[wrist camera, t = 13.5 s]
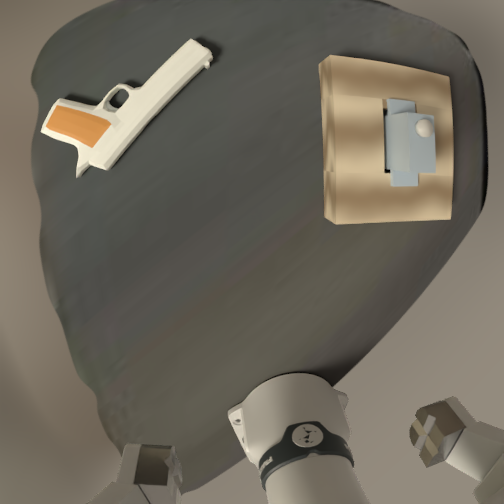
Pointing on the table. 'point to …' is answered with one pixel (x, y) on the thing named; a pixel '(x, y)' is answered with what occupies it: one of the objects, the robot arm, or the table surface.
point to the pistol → (122, 111)
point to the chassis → (380, 142)
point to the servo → (408, 142)
